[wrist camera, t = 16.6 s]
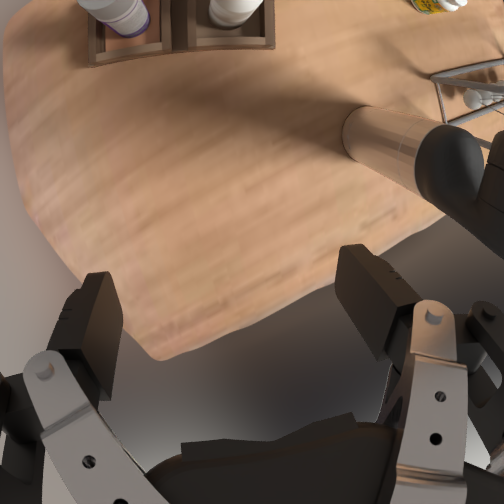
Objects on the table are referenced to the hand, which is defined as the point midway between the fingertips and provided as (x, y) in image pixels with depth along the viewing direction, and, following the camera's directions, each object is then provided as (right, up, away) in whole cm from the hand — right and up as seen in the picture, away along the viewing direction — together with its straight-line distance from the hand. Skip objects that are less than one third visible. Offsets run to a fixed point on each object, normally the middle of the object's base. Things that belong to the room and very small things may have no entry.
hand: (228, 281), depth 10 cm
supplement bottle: (+29, +43, +21) cm, 56 cm away
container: (-14, +29, +17) cm, 37 cm away
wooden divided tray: (-8, +31, +19) cm, 37 cm away
